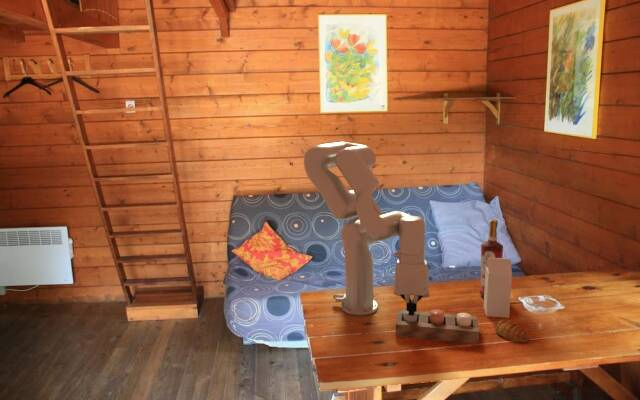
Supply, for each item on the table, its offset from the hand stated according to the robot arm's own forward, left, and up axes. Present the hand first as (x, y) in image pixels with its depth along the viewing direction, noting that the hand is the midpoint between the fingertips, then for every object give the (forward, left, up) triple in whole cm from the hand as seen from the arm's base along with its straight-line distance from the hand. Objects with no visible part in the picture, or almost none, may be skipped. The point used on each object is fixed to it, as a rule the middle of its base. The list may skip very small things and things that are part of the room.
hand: (411, 313), depth 148 cm
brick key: (+8, 0, -3) cm, 8 cm away
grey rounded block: (0, 0, -4) cm, 4 cm away
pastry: (+30, +3, -6) cm, 30 cm away
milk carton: (+27, +17, -6) cm, 32 cm away
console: (+8, 0, -6) cm, 10 cm away
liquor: (+26, +30, -6) cm, 40 cm away
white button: (+16, 0, -4) cm, 16 cm away
